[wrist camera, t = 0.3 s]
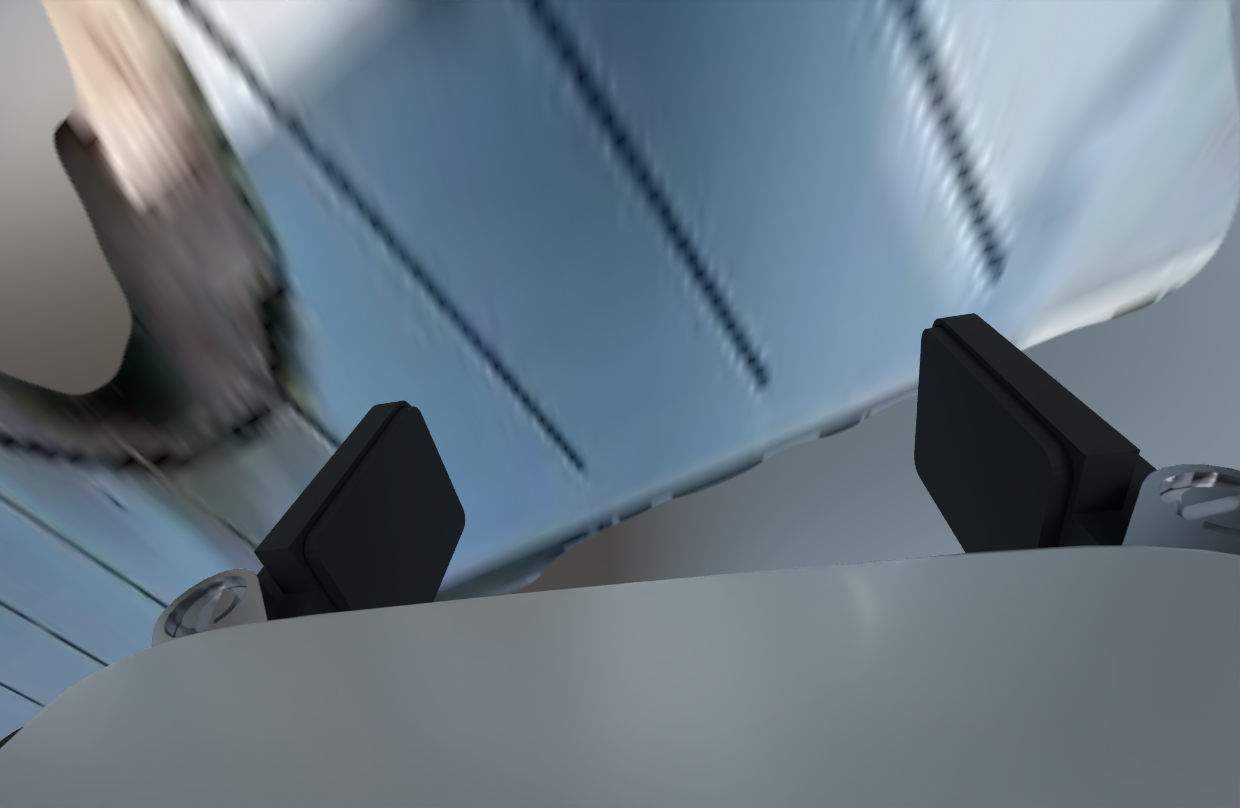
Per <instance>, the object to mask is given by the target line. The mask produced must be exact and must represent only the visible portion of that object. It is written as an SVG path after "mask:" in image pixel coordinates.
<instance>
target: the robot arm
mask: <svg viewBox="0 0 1240 808" xmlns="http://www.w3.org/2000/svg"><path fill="white" fill-rule="evenodd" d="M1139 452H1140V450H1139V449H1138V448H1137V447H1136V446H1135V445H1133V444H1132V443H1131V442H1130V441H1129V440H1127V439H1126V438H1125V437H1124V436H1122V435H1121V434H1120V433H1119V432H1118V431H1116V430H1115V429H1114V428H1113V427H1112V426H1110V425H1109V424H1108V423H1107V422H1106V421H1104V420H1103V419H1102V418H1101V417H1100V416H1098V415H1097V414H1096V413H1095V412H1094V411H1092V410H1091V409H1090V408H1089V407H1088V406H1086V405H1085V404H1084V403H1083V402H1082V401H1080V400H1079V399H1078V398H1077V397H1075V396H1074V395H1073V394H1072V393H1071V392H1069V391H1068V390H1067V389H1066V388H1065V387H1063V386H1062V385H1061V384H1060V383H1059V382H1057V381H1056V380H1055V379H1054V378H1052V377H1051V376H1050V375H1049V374H1048V373H1046V372H1045V371H1044V370H1043V369H1042V368H1041V367H1039V366H1038V365H1037V364H1036V363H1035V362H1033V361H1032V360H1031V359H1030V358H1028V357H1027V356H1026V355H1025V354H1023V353H1022V352H1021V351H1020V350H1019V349H1018V348H1016V347H1015V346H1014V345H1013V344H1012V343H1010V342H1009V341H1008V340H1007V339H1006V338H1004V337H1003V336H1002V335H1001V334H1000V333H998V332H997V331H996V330H995V329H994V328H992V327H991V326H990V325H989V324H987V323H986V322H985V321H984V320H983V319H981V318H980V317H979V316H978V315H976V314H974V313H972V314H965V315H959V316H952V317H946V318H939V319H936V320H935V321H934V324H933V326H932V328H929V329H925V330H924V331H923V333H922V339H921V354H920V370H919V386H918V402H917V419H916V436H915V451H914V460H915V466H916V469H917V473H918V475H919V477H920V478H921V480H922V482H923V484H924V485H925V487H926V488H927V490H928V492H929V493H930V495H931V497H932V498H933V500H934V502H935V503H936V505H937V507H938V508H939V510H940V511H941V513H942V515H943V516H944V518H945V520H946V521H947V523H948V525H949V526H950V528H951V529H952V531H953V533H954V534H955V536H956V538H957V539H958V541H959V543H960V544H961V546H962V548H963V549H964V551H965V553H962V554H950V555H939V556H927V557H917V558H905V559H894V560H882V561H871V562H860V563H848V564H836V565H826V566H813V567H802V568H790V569H780V570H768V571H757V572H745V573H735V574H724V575H713V576H702V577H690V578H679V579H668V580H657V581H646V582H636V583H625V584H615V585H604V586H593V587H583V588H573V589H563V590H552V591H542V592H532V593H521V594H511V595H501V596H491V597H481V598H471V599H461V600H452V601H442V602H433V601H434V599H435V596H436V594H437V592H438V589H439V587H440V584H441V582H442V580H443V577H444V575H445V572H446V570H447V568H448V565H449V563H450V560H451V558H452V556H453V553H454V551H455V548H456V546H457V544H458V541H459V539H460V537H461V534H462V532H463V529H464V526H465V514H464V510H463V507H462V505H461V503H460V501H459V498H458V496H457V494H456V492H455V489H454V487H453V485H452V482H451V480H450V478H449V476H448V473H447V471H446V469H445V466H444V464H443V462H442V460H441V457H440V455H439V453H438V450H437V448H436V446H435V444H434V441H433V439H432V437H431V435H430V432H429V430H428V428H427V425H426V423H425V421H424V419H423V416H422V414H421V412H420V410H419V409H418V408H417V407H415V406H413V407H411V406H410V405H409V403H408V402H406V401H398V402H391V403H385V404H378V405H375V406H373V407H372V408H371V409H370V411H369V412H368V413H367V414H366V416H365V417H364V418H363V419H362V420H361V422H360V423H359V424H358V425H357V427H356V428H355V429H354V430H353V431H352V433H351V434H350V435H349V436H348V438H347V439H346V440H345V441H344V442H343V444H342V445H341V446H340V447H339V449H338V450H337V451H336V452H335V453H334V455H333V456H332V457H331V458H330V459H329V461H328V462H327V463H326V464H325V466H324V467H323V468H322V469H321V470H320V472H319V473H318V474H317V475H316V477H315V478H314V479H313V480H312V481H311V483H310V484H309V485H308V486H307V488H306V489H305V490H304V491H303V492H302V494H301V495H300V496H299V497H298V499H297V500H296V501H295V502H294V503H293V505H292V506H291V507H290V508H289V510H288V511H287V512H286V513H285V514H284V516H283V517H282V518H281V519H280V521H279V522H278V523H277V524H276V525H275V527H274V528H273V529H272V530H271V532H270V533H269V534H268V535H267V536H266V538H265V539H264V540H263V541H262V543H261V544H260V545H259V546H258V547H257V549H256V550H255V551H254V553H255V554H256V555H257V557H258V558H259V560H260V561H261V563H262V564H263V565H264V567H263V568H262V569H261V571H260V572H259V573H258V575H256V574H255V572H254V571H252V570H249V569H246V568H243V569H232V570H228V571H224V572H220V573H218V574H216V575H213V576H211V577H209V578H207V579H204V580H203V581H201V582H199V583H198V584H196V585H194V586H193V587H191V588H189V589H188V590H187V591H185V592H184V593H183V594H182V595H180V596H179V597H178V598H176V599H175V600H174V601H173V602H172V603H171V604H170V605H169V606H168V607H167V608H166V609H165V610H164V611H163V612H162V614H161V615H160V617H159V618H158V620H157V621H156V623H155V625H154V629H153V632H152V644H151V648H148V649H146V650H143V651H141V652H138V653H136V654H134V655H131V656H129V657H127V658H124V659H122V660H120V661H117V662H115V663H113V664H111V665H109V666H107V667H105V668H103V669H101V670H99V671H97V672H95V673H93V674H91V675H90V676H88V677H86V678H84V679H82V680H80V681H79V682H77V683H75V684H74V685H72V686H71V687H69V688H68V689H67V690H65V691H64V692H63V693H61V694H60V695H59V696H57V697H56V698H55V699H54V700H53V701H52V702H50V703H49V704H48V705H47V706H46V707H45V708H44V709H42V710H41V711H40V712H39V713H38V714H37V715H36V716H35V717H34V718H33V719H32V720H30V721H29V722H28V723H27V724H26V725H25V726H24V727H22V728H20V729H18V730H16V731H15V732H13V733H11V734H10V735H8V736H7V737H5V738H4V739H3V740H1V741H0V808H1240V471H1239V470H1236V469H1232V468H1225V467H1219V466H1212V465H1204V464H1181V465H1175V466H1169V467H1163V468H1161V469H1159V470H1156V469H1155V468H1154V467H1153V466H1152V465H1150V464H1149V463H1148V462H1147V461H1146V460H1145V459H1143V458H1142V457H1141V456H1140V455H1139Z"/></svg>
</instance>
